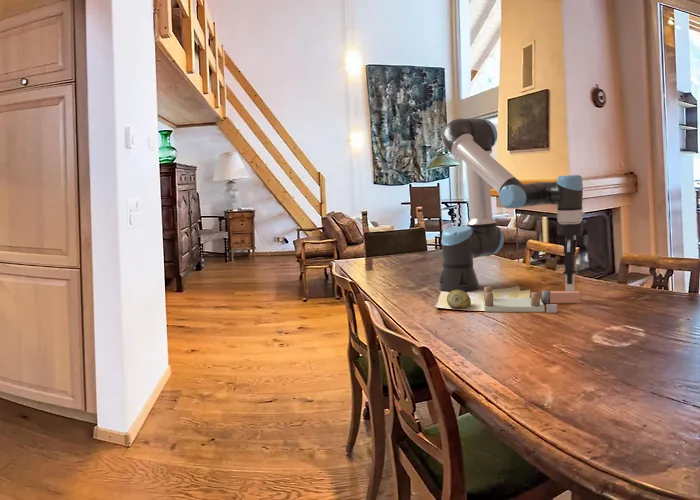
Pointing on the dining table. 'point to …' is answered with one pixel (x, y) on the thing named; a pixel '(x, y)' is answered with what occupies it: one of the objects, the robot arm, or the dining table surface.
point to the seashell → (458, 299)
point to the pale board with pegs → (515, 303)
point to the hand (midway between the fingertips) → (569, 292)
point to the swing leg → (560, 297)
